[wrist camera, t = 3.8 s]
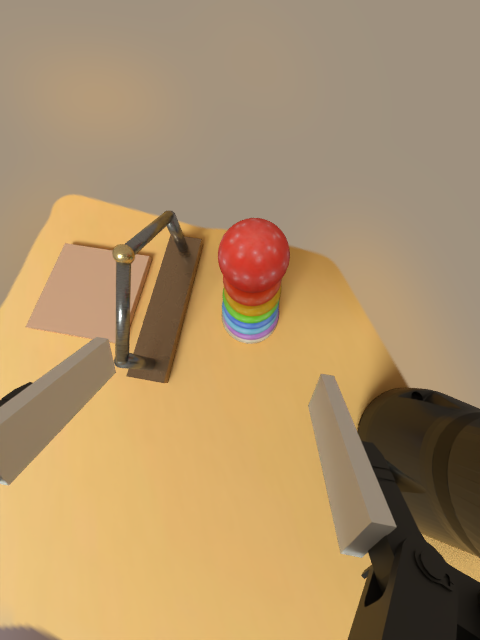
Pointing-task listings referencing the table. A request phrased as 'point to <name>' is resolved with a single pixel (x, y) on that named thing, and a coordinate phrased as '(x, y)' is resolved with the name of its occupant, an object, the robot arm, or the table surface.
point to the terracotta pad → (85, 293)
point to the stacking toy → (252, 278)
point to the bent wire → (155, 300)
